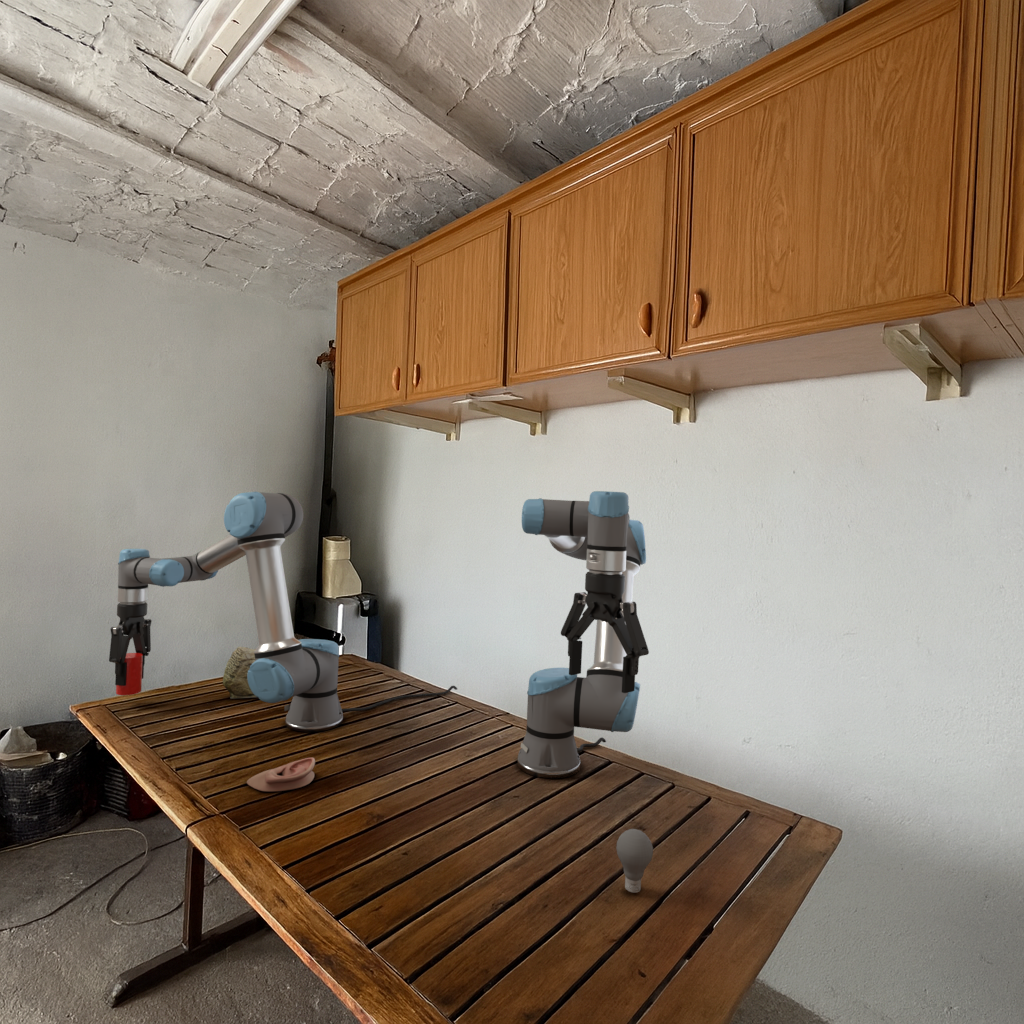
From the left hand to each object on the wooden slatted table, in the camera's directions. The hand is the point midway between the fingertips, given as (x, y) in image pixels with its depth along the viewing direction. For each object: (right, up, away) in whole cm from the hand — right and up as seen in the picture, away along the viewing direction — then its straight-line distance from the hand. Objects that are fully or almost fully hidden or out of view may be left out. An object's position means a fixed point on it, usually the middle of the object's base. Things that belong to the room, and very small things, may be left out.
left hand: (129, 681), depth 183 cm
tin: (0, -3, 0) cm, 3 cm away
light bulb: (+131, -14, -78) cm, 153 cm away
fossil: (+30, -8, +15) cm, 35 cm away
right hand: (+128, +16, -62) cm, 143 cm away
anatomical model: (+60, -11, -44) cm, 75 cm away
